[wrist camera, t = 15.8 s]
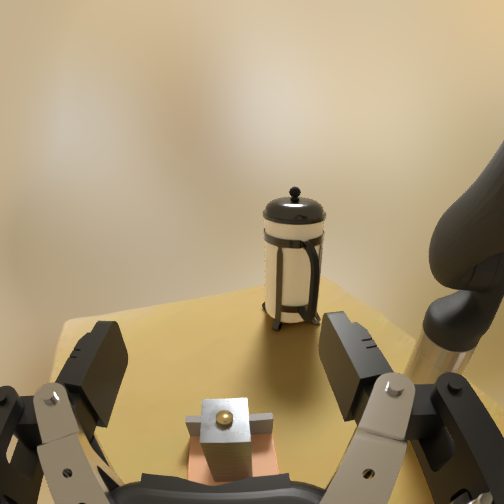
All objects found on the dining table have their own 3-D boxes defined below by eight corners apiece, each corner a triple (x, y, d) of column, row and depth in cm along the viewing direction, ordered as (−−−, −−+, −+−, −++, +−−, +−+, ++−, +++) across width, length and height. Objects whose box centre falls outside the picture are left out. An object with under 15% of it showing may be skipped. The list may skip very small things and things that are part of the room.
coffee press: (242, 321, 64) (237, 189, 53) (281, 293, 76) (283, 179, 65) (309, 350, 54) (322, 200, 43) (340, 313, 66) (354, 188, 55)
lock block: (249, 445, 33) (246, 394, 28) (252, 480, 28) (250, 438, 23) (214, 446, 33) (201, 395, 28) (214, 481, 27) (198, 439, 23)
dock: (270, 426, 38) (271, 404, 35) (281, 497, 26) (285, 484, 23) (192, 429, 37) (185, 407, 35) (188, 500, 25) (178, 487, 23)
